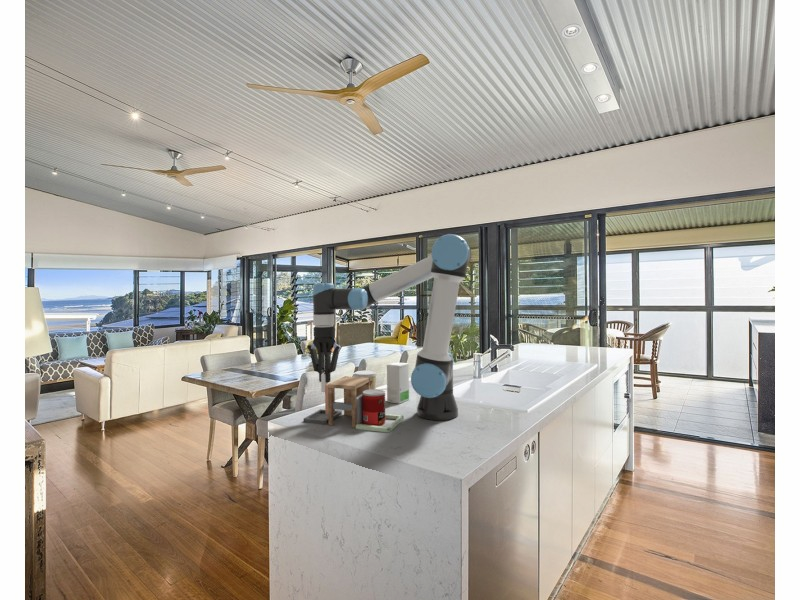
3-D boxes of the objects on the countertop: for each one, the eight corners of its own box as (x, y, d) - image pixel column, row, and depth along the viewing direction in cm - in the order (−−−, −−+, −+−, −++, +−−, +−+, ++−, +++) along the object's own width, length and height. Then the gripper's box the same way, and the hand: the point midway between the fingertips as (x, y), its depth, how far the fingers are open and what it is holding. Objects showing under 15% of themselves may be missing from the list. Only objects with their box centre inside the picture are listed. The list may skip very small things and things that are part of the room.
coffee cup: (351, 403, 171) (350, 374, 171) (358, 397, 180) (358, 369, 180) (373, 404, 169) (372, 375, 168) (379, 398, 178) (378, 370, 178)
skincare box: (399, 404, 169) (399, 365, 168) (385, 402, 172) (385, 364, 172) (410, 399, 176) (409, 362, 176) (396, 397, 179) (396, 361, 179)
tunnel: (370, 416, 153) (369, 377, 153) (355, 428, 140) (354, 385, 140) (345, 414, 156) (345, 376, 156) (328, 425, 143) (328, 384, 143)
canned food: (382, 427, 141) (382, 394, 141) (359, 426, 142) (359, 393, 142) (387, 420, 148) (387, 389, 148) (365, 419, 150) (365, 388, 150)
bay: (403, 418, 150) (403, 415, 150) (389, 432, 136) (389, 428, 136) (372, 415, 154) (372, 412, 153) (355, 428, 139) (355, 425, 139)
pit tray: (341, 414, 156) (341, 411, 156) (326, 424, 144) (326, 420, 144) (320, 412, 158) (320, 409, 158) (303, 422, 147) (303, 418, 147)
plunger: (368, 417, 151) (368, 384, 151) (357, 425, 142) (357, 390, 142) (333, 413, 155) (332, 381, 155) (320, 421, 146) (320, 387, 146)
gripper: (345, 325, 152) (345, 389, 152) (313, 324, 156) (314, 387, 156) (335, 327, 145) (336, 394, 145) (302, 326, 149) (303, 392, 149)
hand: (324, 391), depth 151 cm, fingers closed
